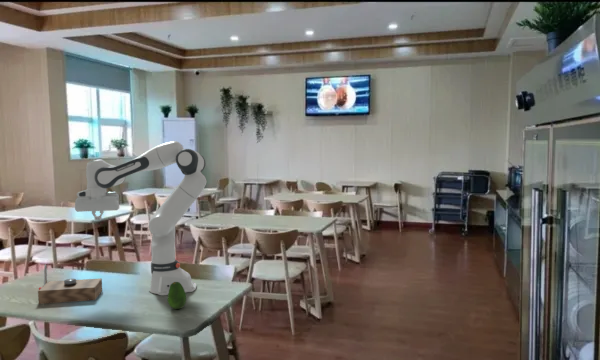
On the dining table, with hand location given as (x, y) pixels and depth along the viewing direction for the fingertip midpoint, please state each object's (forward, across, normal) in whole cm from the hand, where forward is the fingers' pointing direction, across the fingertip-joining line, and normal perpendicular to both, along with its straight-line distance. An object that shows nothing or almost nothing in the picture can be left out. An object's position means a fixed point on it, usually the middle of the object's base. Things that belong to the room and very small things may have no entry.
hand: (98, 219), depth 228 cm
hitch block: (+34, +10, +14) cm, 38 cm away
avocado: (+34, -40, +40) cm, 66 cm away
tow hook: (+34, +24, -2) cm, 42 cm away
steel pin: (+34, +10, +14) cm, 38 cm away
